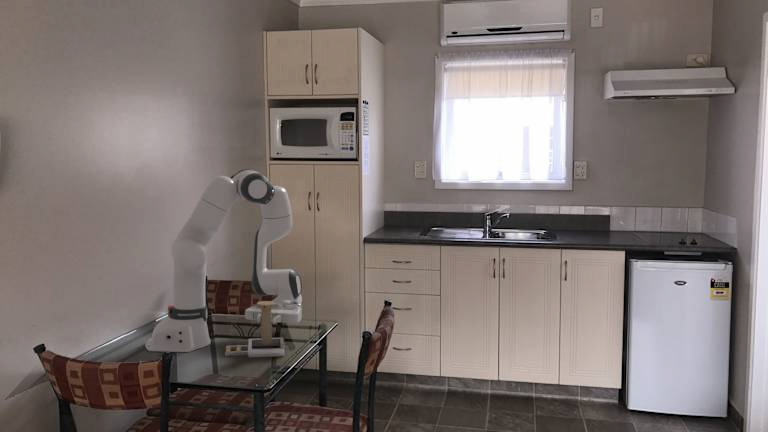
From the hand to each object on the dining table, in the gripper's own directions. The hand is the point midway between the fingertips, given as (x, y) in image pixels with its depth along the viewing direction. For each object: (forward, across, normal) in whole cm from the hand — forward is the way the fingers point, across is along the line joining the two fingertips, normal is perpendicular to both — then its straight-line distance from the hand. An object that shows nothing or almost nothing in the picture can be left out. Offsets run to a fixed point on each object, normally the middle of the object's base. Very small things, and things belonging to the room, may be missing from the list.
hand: (265, 320), depth 231 cm
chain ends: (+1, -4, +11) cm, 12 cm away
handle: (-1, 0, +9) cm, 9 cm away
